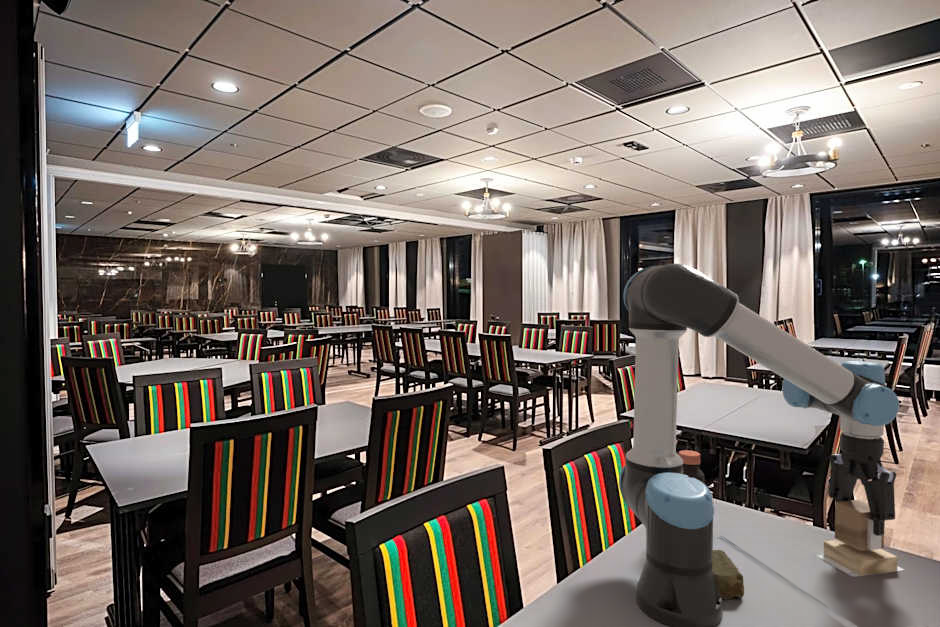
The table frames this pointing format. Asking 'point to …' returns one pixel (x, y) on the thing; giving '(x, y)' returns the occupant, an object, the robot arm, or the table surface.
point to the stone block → (727, 576)
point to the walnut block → (853, 523)
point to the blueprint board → (845, 567)
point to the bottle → (691, 464)
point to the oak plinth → (860, 558)
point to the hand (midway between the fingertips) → (859, 541)
